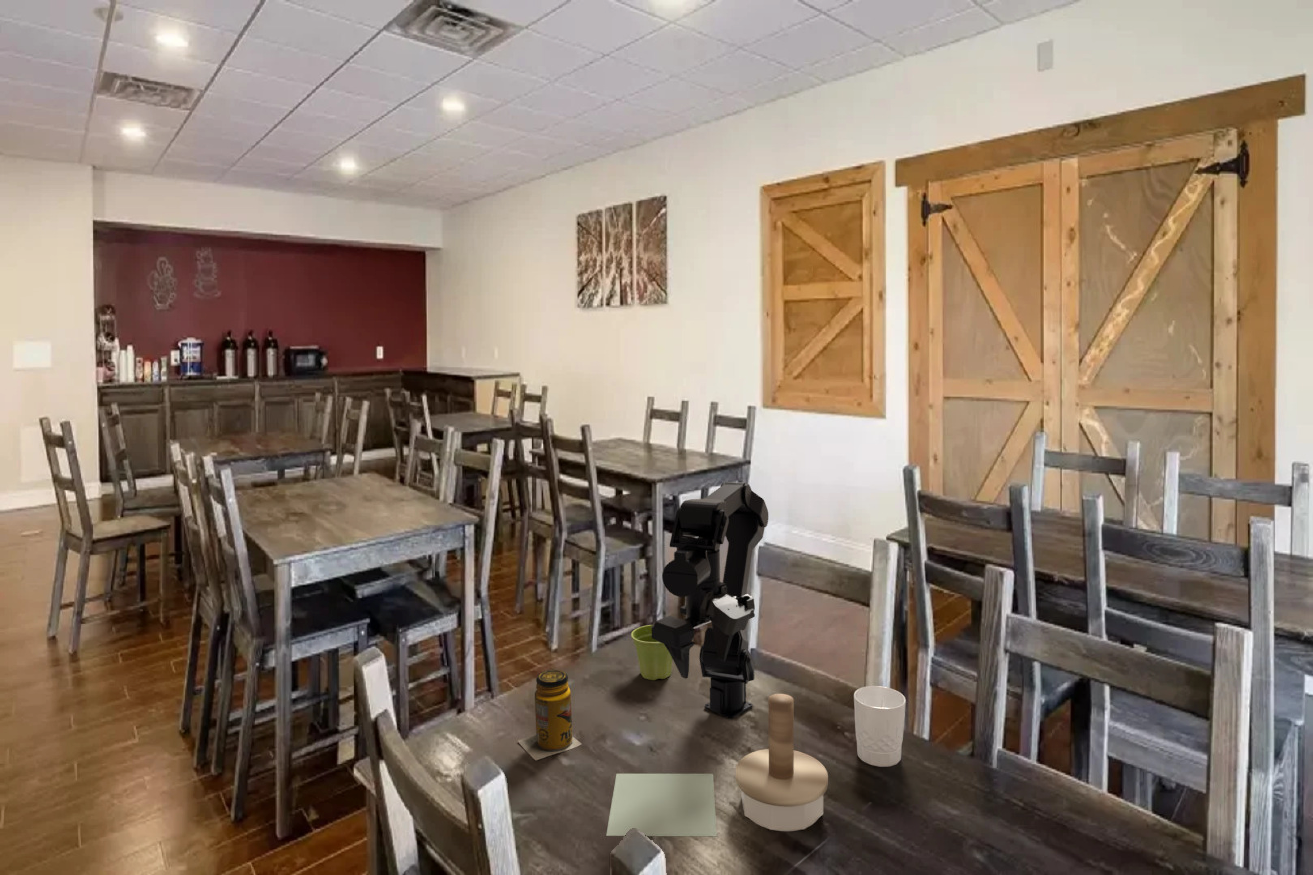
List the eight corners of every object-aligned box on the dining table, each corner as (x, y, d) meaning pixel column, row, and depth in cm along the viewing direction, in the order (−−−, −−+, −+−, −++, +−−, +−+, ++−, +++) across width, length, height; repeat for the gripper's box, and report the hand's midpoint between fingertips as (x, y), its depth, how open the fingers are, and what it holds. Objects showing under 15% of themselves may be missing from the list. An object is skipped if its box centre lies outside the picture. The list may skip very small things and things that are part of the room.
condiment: (582, 745, 129) (579, 677, 127) (535, 761, 124) (532, 691, 123) (562, 727, 135) (559, 662, 133) (517, 742, 130) (514, 675, 129)
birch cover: (745, 749, 118) (744, 674, 116) (831, 761, 114) (832, 684, 112) (726, 797, 106) (725, 715, 104) (822, 813, 102) (823, 728, 100)
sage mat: (616, 775, 120) (616, 773, 120) (713, 775, 119) (713, 773, 119) (606, 837, 105) (606, 835, 105) (716, 838, 104) (716, 836, 104)
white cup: (907, 748, 125) (908, 690, 124) (900, 774, 118) (902, 712, 117) (858, 739, 129) (858, 682, 127) (849, 763, 122) (849, 703, 120)
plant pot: (664, 688, 149) (663, 645, 148) (623, 678, 154) (622, 637, 153) (687, 670, 157) (686, 629, 156) (647, 661, 162) (646, 621, 161)
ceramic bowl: (773, 777, 118) (773, 750, 118) (835, 807, 110) (836, 778, 110) (726, 809, 110) (726, 780, 110) (790, 844, 103) (790, 812, 102)
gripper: (700, 603, 113) (702, 704, 115) (777, 574, 126) (777, 665, 128) (648, 587, 121) (650, 681, 123) (725, 561, 134) (726, 647, 136)
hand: (703, 668), depth 127 cm, fingers open, 9 cm apart
